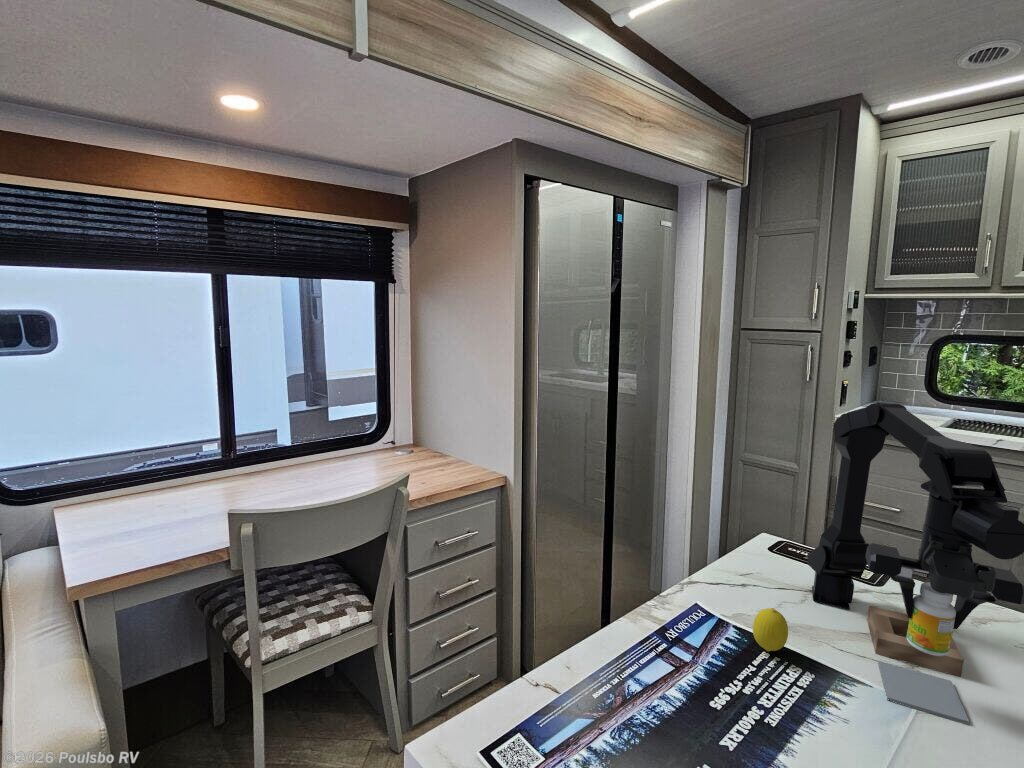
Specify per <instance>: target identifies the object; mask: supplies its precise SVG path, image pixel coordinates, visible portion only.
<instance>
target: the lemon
mask: <svg viewBox="0 0 1024 768" xmlns="http://www.w3.org/2000/svg"><path fill="white" fill-rule="evenodd" d="M752 634H753V638H754V640H755V641H756V643H757V644H758V645H759V646H760V647H761V648H762V649H764V650H765V651H766V652H769V653H770V652H776V651H779V650H781V649H782V648H783V647H784V646H785V645H786V644H787V641H788V637H789V627H788V622H787V620H786V618H785V617H784V615H783V614H782V613H781V612H780V611H779V610H776V609H775V608H773V607H771V608H763V609H761V610H760V611H759V612H757V614H756V615H755V617H754V619H753V624H752Z"/></svg>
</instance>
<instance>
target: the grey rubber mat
mask: <svg viewBox="0 0 1024 768" xmlns="http://www.w3.org/2000/svg"><path fill="white" fill-rule="evenodd" d="M877 664H878V669H879V673H880V677H881V682H882V685H883V690H884V689H885V690H884V693H885V692H886V694H885V697H886V696H887V698H886V700H887V699H889V700H891V701H890V702H892V701H894V702H893V703H895V702H897V703H896V704H898V703H901V704H904V705H903V706H905V705H906V707H908V706H910V707H909V708H911V707H913V709H915V710H918V711H922V712H925V713H928V714H932V715H935V716H939V717H941V718H946V719H948V720H952V721H954V722H955V721H956V722H959V723H962V724H965V725H969V723H970V721H969V718H968V716H967V714H966V712H965V710H964V707H963V704H962V702H961V700H960V698H959V696H958V693H957V691H956V689H955V685H953V681H952V680H950V679H946V678H942V677H939V676H935V675H932V674H927V673H924V672H920V671H918V670H914V669H910V668H908V667H903V666H899V665H896V664H892V663H888V662H885V661H880V660H878V661H877ZM901 704H900V705H901Z"/></svg>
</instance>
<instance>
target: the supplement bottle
mask: <svg viewBox="0 0 1024 768" xmlns="http://www.w3.org/2000/svg"><path fill="white" fill-rule="evenodd" d="M953 598H954V595H953V594H948V593H944V594H943V593H939V592H937V591H935V590H933V589H932V587H931V584H930V581H928V582H922V583H921V584H920V588H919V594H917V595H915V596H913V612H912V617H911V618H910V619H909V625H908V631H907V636H906V638H907V641H908V642H909V643H910V644H911V645H912V646H913V647H915V648H916V649H918V650H920V651H922V652H925V653H927V654H930V655H935V656H944V655H947V654H948V653H949V649H950V644H951V639H952V638H953V633H954V629H953V628H954V622H955V617H956V610H955V608H954V605H953V604H952V603H953V600H954V599H953Z"/></svg>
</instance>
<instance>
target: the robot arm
mask: <svg viewBox="0 0 1024 768" xmlns="http://www.w3.org/2000/svg"><path fill="white" fill-rule="evenodd" d="M833 432H834V435H833V436H834V441H833V442H834V444H835V446H836V447H837V449H838V452H839V453H840V455H841V456H840V457H841V459H840V465H839V473H838V480H837V488H836V491H835V492H836V493H835V501H834V506H833V514H832V522H831V524H830V525H829V526H828V527H827V529H825V531H823V532H822V533H821V535H820V539H819V542H818V546H817V547H816V548H814V549H813V550H812V551H810V552H809V553H807V564H808V566H809V568H811V569H812V570H813V571H814V581H813V585H812V586H811V592H812V593H811V595H812V601H814V602H815V603H819V604H822V605H823V604H824V605H828V606H830V607H831V606H833V607H836V608H840V609H843V610H848V611H849V610H850V609H851V607H850V605H851V604H852V603H853V599H854V598H853V597H854V591H855V583H854V579H853V577H854V578H862V576H863V574H864V571H865V569H866V568H867V567H868V570H869V571H870V572H872V573H876V574H878V575H879V574H880V575H884V576H888V577H890V580H892V582H893V581H894V582H896V583H899V587H900V591H901V594H902V599H903V603H904V604H903V605H904V608H905V614H907V616H908V618H911V617H912V612H913V598H914V589H915V587H916V582H915V579H914V577H913V573H918V574H923V575H927V576H928V577H929V580H930V581H929V582H930V584H931V587H932V589H933V590H935V591H937V592H939V593H943V594H944V593H948V594H953V596H956V598H955V603H954V605H953V607H954V608H955V610H956V617H955V622H954V628H953V630H958V629H959V627H961V625H962V624H963V623H964V621H965V620H966V619H967V618H968V617H969V615H970V614H971V613H972V612H973V610H975V609H976V608H977V607H979V606H980V605H982V604H987V603H990V604H994V603H995V602H997V600H998V601H1002V602H1008V603H1012V604H1017V605H1024V584H1023V583H1022V581H1021V580H1020V578H1018V577H1017V576H1016V574H1015V573H1013V571H1012V570H1009V569H1003V568H998V567H994V566H990V565H985V564H980V563H979V562H974V561H973V556H972V552H973V549H972V548H973V545H974V546H975V547H977V548H978V549H980V550H982V551H983V552H985V553H987V554H989V555H991V556H993V557H994V558H996V559H1000V560H1012V559H1015V558H1018V557H1019V556H1021V555H1023V554H1024V522H1022V521H1021V520H1019V515H1020V511H1019V510H1017V509H1015V508H1012V507H1010V506H1006V505H1002V504H1007V503H1008V498H1007V496H1006V493H1005V491H1006V489H1005V487H1004V485H1003V484H1002V482H1001V479H1000V476H999V473H998V472H997V468H996V466H995V463H994V460H993V458H992V455H990V453H989V452H988V451H987V450H985V449H983V448H981V447H978V446H976V445H973V444H971V443H968V442H965V441H960V440H957V439H952V438H949V437H947V436H945V435H943V434H942V433H941V432H939V431H938V430H936V429H935V428H933V427H932V426H930V425H929V424H927V423H926V422H925V421H923V420H922V419H920V418H919V417H918V416H916V415H915V414H913V413H911V412H910V411H909V410H907V408H906V406H905V405H903V404H901V403H897V402H883V401H881V402H880V401H877V402H875V403H874V402H873V403H870V404H868V405H867V406H866V407H862V408H860V409H854V410H852V411H848V412H846V413H842V414H841V415H839V416H838V417H837V418H836V420H834V423H833ZM890 436H892V437H893V438H894V439H895V440H896V441H898V442H899V443H900V444H901V445H903V446H904V447H905V448H906V449H908V450H909V451H910V452H912V453H913V454H914V455H916V457H917V458H918V467H919V468H920V470H922V472H923V473H924V474H925V475H926V476H927V478H928V479H929V480H928V481H925V482H923V483H921V484H920V488H921V489H923V490H924V491H926V492H928V493H929V494H928V500H927V505H926V506H927V507H926V512H925V518H924V523H923V525H922V536H921V539H920V540H921V541H920V547H919V548H918V553H917V554H918V558H917V559H916V558H911V557H906V556H903V555H900V553H899V550H898V549H897V547H893V546H889V545H882V544H878V543H875V542H874V543H873V542H872V543H870V544H869V543H868V542H866V540H865V538H864V536H863V535H862V524H863V522H862V521H863V516H864V512H865V511H864V509H865V503H866V497H867V496H866V495H867V490H868V489H867V488H868V483H869V482H868V481H869V475H870V468H871V463H872V461H873V460H874V459H875V458H876V457H877V455H879V454H880V453H881V452H882V450H884V446H885V442H886V438H887V437H890ZM966 487H967V488H966ZM969 487H971V488H969ZM981 487H982V488H981Z"/></svg>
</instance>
